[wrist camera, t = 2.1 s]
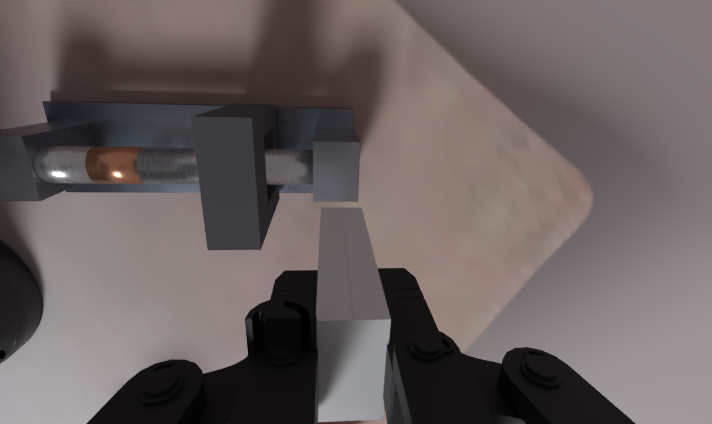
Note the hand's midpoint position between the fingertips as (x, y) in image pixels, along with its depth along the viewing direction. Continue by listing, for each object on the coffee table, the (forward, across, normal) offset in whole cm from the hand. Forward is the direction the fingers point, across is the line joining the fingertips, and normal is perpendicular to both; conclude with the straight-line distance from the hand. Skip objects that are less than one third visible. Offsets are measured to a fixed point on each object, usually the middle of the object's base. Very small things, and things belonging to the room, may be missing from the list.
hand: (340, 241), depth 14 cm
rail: (+18, -10, 0) cm, 20 cm away
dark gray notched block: (+16, -6, 0) cm, 17 cm away
